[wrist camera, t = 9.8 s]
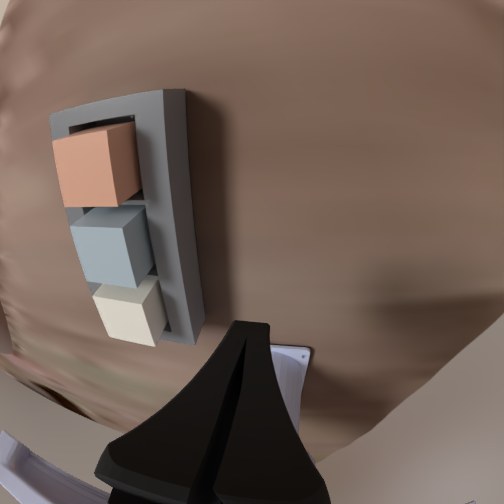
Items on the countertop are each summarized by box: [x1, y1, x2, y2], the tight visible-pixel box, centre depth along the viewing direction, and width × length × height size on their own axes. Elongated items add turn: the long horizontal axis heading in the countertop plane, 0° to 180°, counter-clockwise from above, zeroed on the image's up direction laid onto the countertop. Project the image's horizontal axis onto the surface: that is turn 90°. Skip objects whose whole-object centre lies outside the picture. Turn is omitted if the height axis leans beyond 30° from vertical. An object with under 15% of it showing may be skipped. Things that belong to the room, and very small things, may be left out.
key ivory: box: [93, 278, 169, 347], centre depth 21 cm, size 4×4×4 cm
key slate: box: [70, 205, 156, 289], centre depth 18 cm, size 4×4×4 cm
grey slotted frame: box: [49, 89, 206, 345], centre depth 20 cm, size 19×9×3 cm, turn 0°
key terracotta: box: [52, 121, 143, 207], centre depth 15 cm, size 4×4×4 cm
